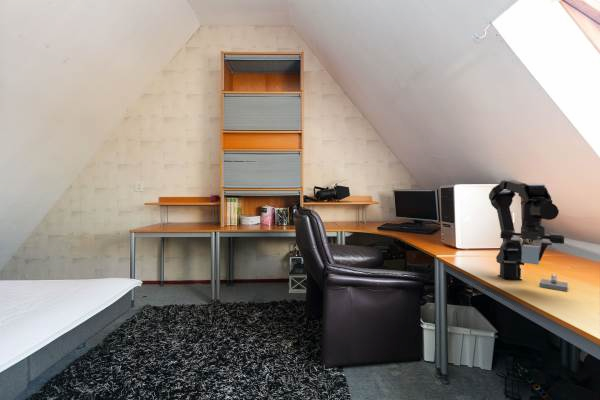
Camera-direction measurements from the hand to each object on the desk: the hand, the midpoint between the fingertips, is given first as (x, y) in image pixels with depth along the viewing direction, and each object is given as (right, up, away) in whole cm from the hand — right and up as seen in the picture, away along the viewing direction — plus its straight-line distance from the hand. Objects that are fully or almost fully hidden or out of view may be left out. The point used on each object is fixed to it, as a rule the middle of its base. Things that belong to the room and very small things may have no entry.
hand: (530, 259), depth 118 cm
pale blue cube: (0, -1, 0) cm, 1 cm away
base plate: (+11, -11, +3) cm, 16 cm away
